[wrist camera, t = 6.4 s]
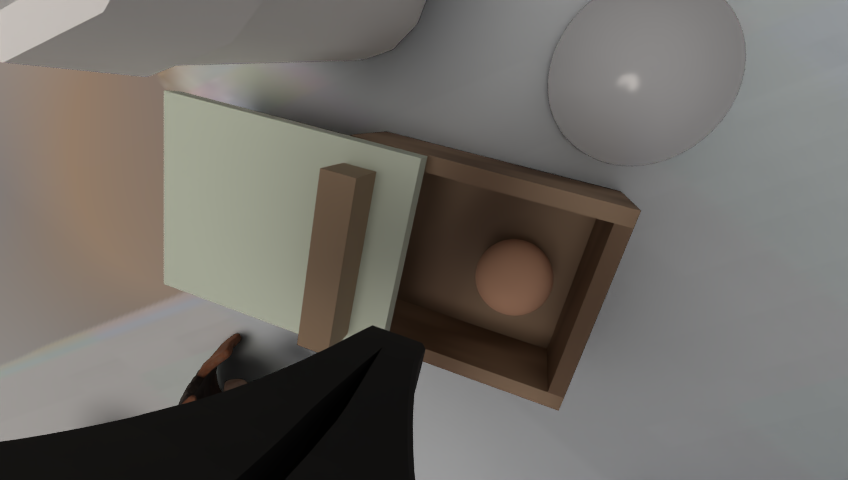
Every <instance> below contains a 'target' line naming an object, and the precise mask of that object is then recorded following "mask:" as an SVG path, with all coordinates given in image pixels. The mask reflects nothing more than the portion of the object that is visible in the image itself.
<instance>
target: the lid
mask: <svg viewBox="0 0 848 480" xmlns="http://www.w3.org/2000/svg"><path fill="white" fill-rule="evenodd" d="M427 157H428V156H425V155H421V154H417V153H413V152H409V151H406V150H402V149H398V148H394V147H390V146H387V145H383V144H379V143H375V142H371V141H368V140H364V139H360V138H356V137H352V136H348V135H345V134H341V133H337V132H333V131H329V130H326V129H322V128H318V127H314V126H310V125H307V124H303V123H299V122H295V121H291V120H288V119H284V118H280V117H276V116H272V115H268V114H265V113H261V112H257V111H253V110H249V109H246V108H242V107H238V106H234V105H230V104H227V103H223V102H219V101H215V100H211V99H208V98H204V97H200V96H196V95H192V94H188V93H185V92H179V91H164V284H165V285H168V286H171V287H173V288H177V289H179V290H182V291H184V292H187V293H190V294H192V295H195V296H198V297H200V298H203V299H206V300H208V301H211V302H214V303H216V304H219V305H222V306H225V307H227V308H230V309H233V310H235V311H238V312H241V313H243V314H246V315H249V316H251V317H254V318H257V319H259V320H262V321H265V322H268V323H270V324H273V325H276V326H278V327H281V328H284V329H286V330H289V331H292V332H294V333H297V334H298V341H297V345H299V346H302V347H304V348H307V349H310V350H312V351H315V352H320V351H322V350H324V349H326V348H328V347H330V346H332V345H334V344H336V343H338V342H340V341H342V340H344V339H346V338H348V337H350V336H352V335H354V334H356V333H358V332H360V331H362V330H364V329H366V328H368V327H370V326H372V325H373V326H376V327H379V328H382V329H385V330H387V331H390V327H391V322H392V318H393V313H394V308H395V304H396V299H397V295H398V290H399V285H400V281H401V276H402V272H403V267H404V262H405V258H406V253H407V249H408V244H409V239H410V235H411V230H412V226H413V221H414V216H415V212H416V207H417V203H418V198H419V193H420V189H421V184H422V180H423V175H424V170H425V166H426V161H427Z"/></svg>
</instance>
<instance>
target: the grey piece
mask: <svg viewBox="0 0 848 480" xmlns="http://www.w3.org/2000/svg"><path fill="white" fill-rule="evenodd" d="M745 62H746V48H745V40H744V35H743V30H742V28H741V25H740V23H739V20H738V18H737V16H736V15H735V13H734V11H733V9H732V8H731V7H730V5H729V4H728V3H727V2H726V1H725V0H592V1H591V2H589V3H588V4H587V5H586V6H585V7H584V8H583V9H582V10H581V11H580V12H579V13H578V14H577V15H576V16H575V17H574V19H573V20H572V21H571V22H570V24H569V25H568V27H567V28H566V30H565V31H564V33H563V34H562V36H561V38H560V40H559V42H558V44H557V46H556V49H555V51H554V54H553V57H552V60H551V65H550V69H549V77H548V99H549V105H550V109H551V112H552V115H553V118H554V120H555V122H556V124H557V126H558V127H559V129H560V130H561V132H562V133H563V135H564V136H565V137H566V138H567V139H568V140H569V141H570V142H571V143H572V144H573V145H574V146H575V147H577V148H578V149H579V150H580V151H582V152H584V153H585V154H587V155H588V156H590V157H593V158H595V159H597V160H600V161H603V162H606V163H609V164H615V165H623V166H639V165H647V164H653V163H657V162H661V161H664V160H667V159H670V158H672V157H674V156H677V155H679V154H681V153H683V152H685V151H686V150H688V149H690V148H692V147H693V146H694V145H696V144H697V143H699V142H700V141H701V140H703V139H704V138H705V137H706V136H707V135H708V134H709V133H710V132H712V131H713V130H714V129H715V127H716V126H717V125H718V124H719V123H720V122H721V121H722V119H723V118H724V117H725V115H726V114H727V112H728V111H729V109H730V108H731V106H732V104H733V102H734V100H735V98H736V96H737V94H738V91H739V89H740V86H741V83H742V79H743V75H744V71H745Z"/></svg>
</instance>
